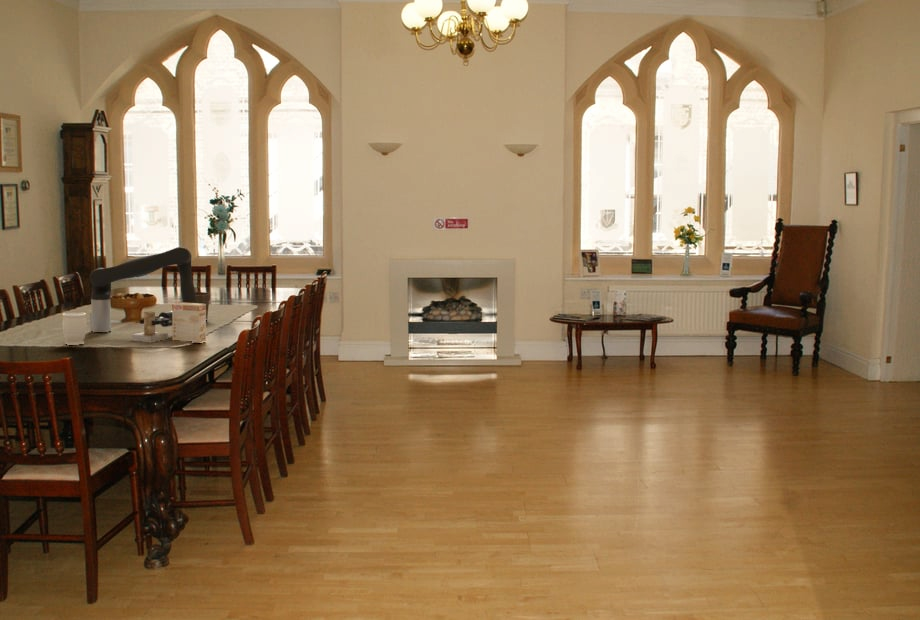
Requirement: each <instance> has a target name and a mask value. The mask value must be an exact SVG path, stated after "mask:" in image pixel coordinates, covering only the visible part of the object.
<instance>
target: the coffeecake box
mask: <svg viewBox="0 0 920 620" xmlns="http://www.w3.org/2000/svg"><path fill="white" fill-rule="evenodd" d="M171 304H172V305H171V307H172V308H171V311H172V326H171V328H172V330H171V331H172V334H171V336H172V338H171V339H172V341H174V340H180V341H179V342H186V341H193V342H202V341H206V342H207V321H206V304H199V303H184V302H183V301H182V302H181V301H179V302H172V303H171Z"/></svg>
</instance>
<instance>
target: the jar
mask: <svg viewBox="0 0 920 620" xmlns="http://www.w3.org/2000/svg"><path fill="white" fill-rule="evenodd" d="M61 316H62V323H61V324H62V327H61V328H62V332H63V333H62V334H63V337H64V339H65V344H67V345H66V346H69V345H77V346H80V345H79V344H83V345H85V342H84V340H85V337H86V332H87V320H86V316H87V312H81V311H76V312H75V311H73V312H71V311H70V312H64V313H62V314H61ZM65 344H64V345H65Z"/></svg>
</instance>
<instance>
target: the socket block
mask: <svg viewBox="0 0 920 620" xmlns="http://www.w3.org/2000/svg"><path fill="white" fill-rule="evenodd" d="M130 337H131V340H132V342H133V341H134V342H139V341H142V342H141V343H147V342H149V343H150V344H152V343H151V342H153V343H156V342H155V341H158V342H161V341H160V340H163V341H166V340H165V339H169V334H168V333H167V332H160V331H159V332H157V331H155V334H153V335H146V334H144V331H143V332H138V333H133V334H131V336H130ZM131 340H130V341H131Z"/></svg>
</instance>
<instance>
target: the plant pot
mask: <svg viewBox="0 0 920 620" xmlns="http://www.w3.org/2000/svg"><path fill="white" fill-rule="evenodd" d="M195 294H196V299H197V301H198V303H199V304H206V319H207V320H208V316H209V315H208V314H209V303H210V299H211V295H212V293H210V292H206V291H205V292H202V291H200V292H199V291H195Z"/></svg>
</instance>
